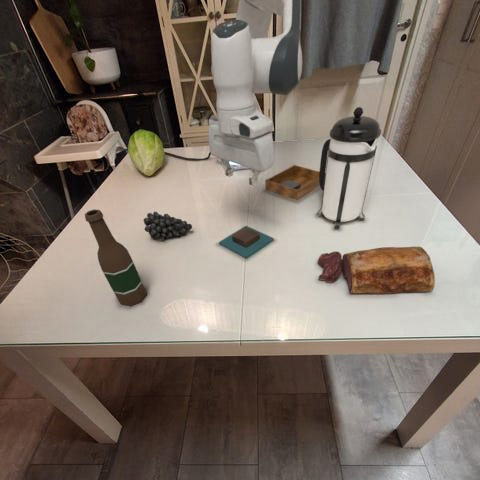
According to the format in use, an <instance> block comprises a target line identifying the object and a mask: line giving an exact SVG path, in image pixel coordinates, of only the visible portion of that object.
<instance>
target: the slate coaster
mask: <svg viewBox="0 0 480 480" xmlns="http://www.w3.org/2000/svg"><path fill="white" fill-rule="evenodd" d="M281 185H284V186H287V187H290V188H293V189H297V190H298V189H300V188H301V184H300V183H297V182H294V181H290V180H287V181H285V182H284V183H282V184H281Z"/></svg>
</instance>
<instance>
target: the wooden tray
mask: <svg viewBox="0 0 480 480" xmlns="http://www.w3.org/2000/svg"><path fill="white" fill-rule="evenodd" d="M319 172H320V170H319V171H318V170H315V169H311V168H308V167H304V166H300V165H296V164H294V165H292V166H290V167H288V168H286V169H284V170H282V171H280V172H279V173H276V174H274V175H272V176H271V177H269V178H267V179H265V180H264V181H265V182H264V183H265V191H267V192H270V193H274V194H277V195H280V196H282V197H285V198H289V199H291V200H294V201H299V200H301V199H302V198H304V197H306V196H307V195H309V194H311V193H313V192H314V191H316V190H317V189H319V188H321V187H320V184H319ZM287 180H290V181H294V182H297V183H300V184H301V188H300V189H298V190H297V189H293V188H290V187H287V186H284V185H281V184H282V183H284V182H285V181H287Z"/></svg>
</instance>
